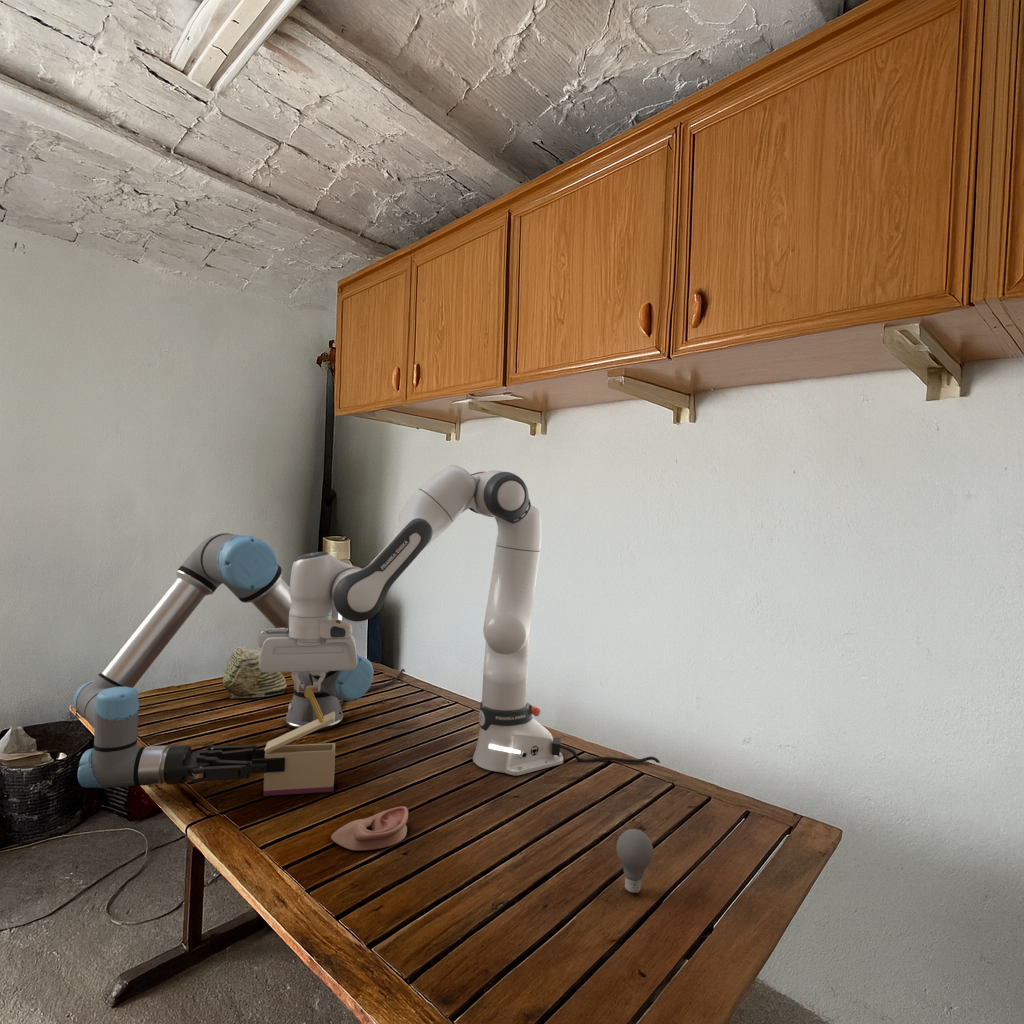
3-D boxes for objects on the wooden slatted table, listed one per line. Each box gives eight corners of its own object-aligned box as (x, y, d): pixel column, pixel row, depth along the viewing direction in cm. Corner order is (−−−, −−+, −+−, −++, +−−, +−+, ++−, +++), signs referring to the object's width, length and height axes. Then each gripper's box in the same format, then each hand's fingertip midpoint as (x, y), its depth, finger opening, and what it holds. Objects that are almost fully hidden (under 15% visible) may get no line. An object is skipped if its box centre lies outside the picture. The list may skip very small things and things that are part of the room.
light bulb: (610, 879, 108) (613, 822, 108) (644, 879, 109) (647, 822, 109) (619, 902, 102) (622, 840, 102) (655, 901, 103) (658, 840, 103)
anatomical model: (323, 824, 115) (352, 795, 126) (322, 845, 115) (351, 815, 126) (392, 835, 112) (415, 805, 123) (391, 857, 112) (414, 825, 123)
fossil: (218, 695, 195) (220, 647, 195) (278, 685, 208) (279, 640, 207) (228, 703, 189) (230, 653, 188) (289, 692, 201) (290, 645, 201)
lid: (335, 714, 140) (320, 679, 139) (334, 721, 136) (318, 685, 135) (268, 745, 137) (252, 710, 136) (265, 753, 133) (248, 717, 132)
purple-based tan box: (334, 782, 141) (335, 742, 141) (333, 791, 136) (334, 750, 136) (266, 786, 138) (267, 745, 137) (263, 795, 133) (264, 754, 133)
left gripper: (178, 765, 139) (290, 760, 145) (152, 803, 122) (280, 795, 128) (180, 731, 139) (291, 727, 145) (154, 764, 122) (281, 758, 127)
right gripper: (256, 631, 131) (254, 697, 131) (358, 629, 136) (356, 693, 136) (261, 625, 137) (259, 688, 137) (358, 623, 142) (356, 685, 142)
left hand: (286, 759), depth 136 cm, fingers closed on purple-based tan box, 4 cm apart
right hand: (308, 691), depth 137 cm, fingers closed
